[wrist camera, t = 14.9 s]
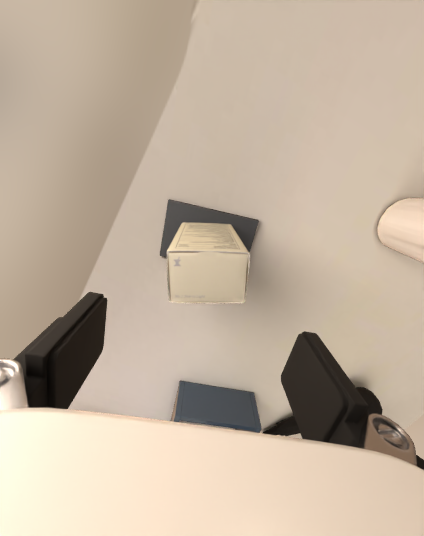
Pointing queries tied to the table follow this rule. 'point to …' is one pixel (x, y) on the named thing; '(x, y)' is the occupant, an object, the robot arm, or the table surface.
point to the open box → (216, 407)
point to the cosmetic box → (207, 265)
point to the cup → (404, 227)
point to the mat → (197, 214)
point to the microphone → (291, 426)
